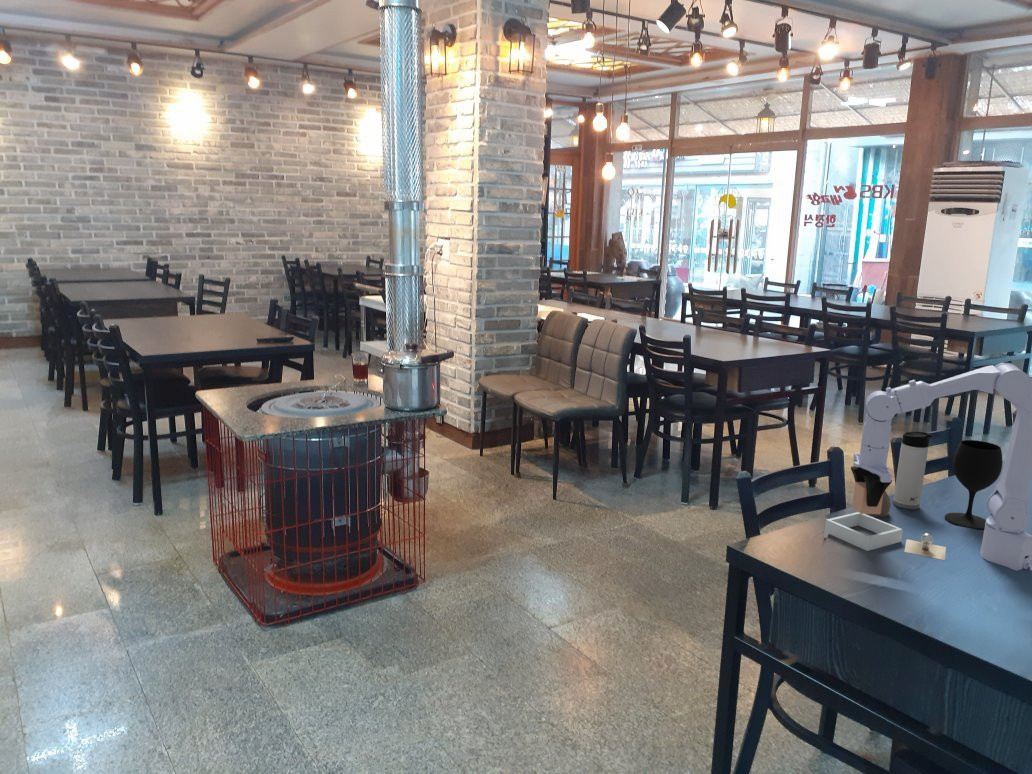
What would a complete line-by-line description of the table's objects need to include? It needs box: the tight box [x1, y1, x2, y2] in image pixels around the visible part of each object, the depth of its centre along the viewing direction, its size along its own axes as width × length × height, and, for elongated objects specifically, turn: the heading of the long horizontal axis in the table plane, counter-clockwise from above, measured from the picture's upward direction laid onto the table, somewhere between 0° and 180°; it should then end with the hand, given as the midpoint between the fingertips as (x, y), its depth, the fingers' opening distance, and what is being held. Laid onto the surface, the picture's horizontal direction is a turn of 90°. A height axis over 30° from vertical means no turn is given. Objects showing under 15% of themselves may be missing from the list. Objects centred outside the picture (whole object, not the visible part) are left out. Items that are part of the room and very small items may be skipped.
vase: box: [866, 490, 891, 518], centre depth 198 cm, size 7×7×9 cm
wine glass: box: [943, 439, 1003, 531], centre depth 196 cm, size 10×10×20 cm
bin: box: [823, 511, 903, 552], centre depth 183 cm, size 12×12×4 cm
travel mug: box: [892, 431, 933, 510], centre depth 206 cm, size 6×7×20 cm
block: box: [851, 482, 884, 514], centre depth 181 cm, size 4×4×6 cm
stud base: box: [904, 533, 947, 561], centre depth 177 cm, size 8×8×5 cm
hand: (867, 501), depth 182 cm, fingers closed on block, 4 cm apart
